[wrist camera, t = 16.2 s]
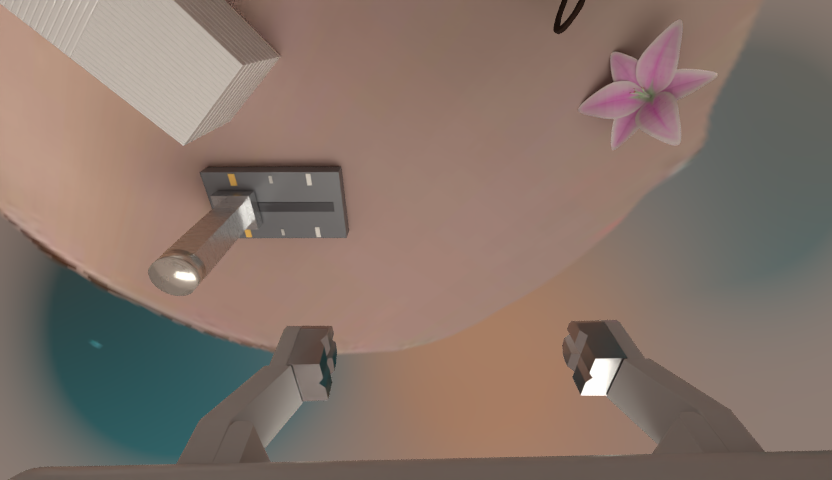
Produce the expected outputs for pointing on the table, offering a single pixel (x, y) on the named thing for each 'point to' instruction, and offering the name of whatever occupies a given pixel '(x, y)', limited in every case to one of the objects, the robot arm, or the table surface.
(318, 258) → the table surface
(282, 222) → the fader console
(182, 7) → the stack of papers
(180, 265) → the lever
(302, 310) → the table surface
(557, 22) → the coffee mug
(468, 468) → the robot arm
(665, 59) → the lily
